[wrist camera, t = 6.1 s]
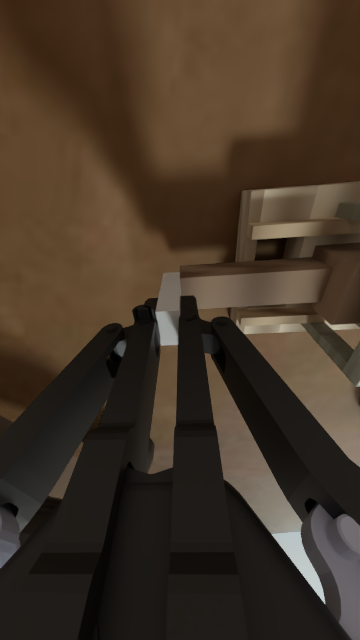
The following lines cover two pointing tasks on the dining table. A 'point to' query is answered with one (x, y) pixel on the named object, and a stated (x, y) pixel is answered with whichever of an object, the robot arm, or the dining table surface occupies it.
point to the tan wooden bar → (283, 283)
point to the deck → (300, 256)
